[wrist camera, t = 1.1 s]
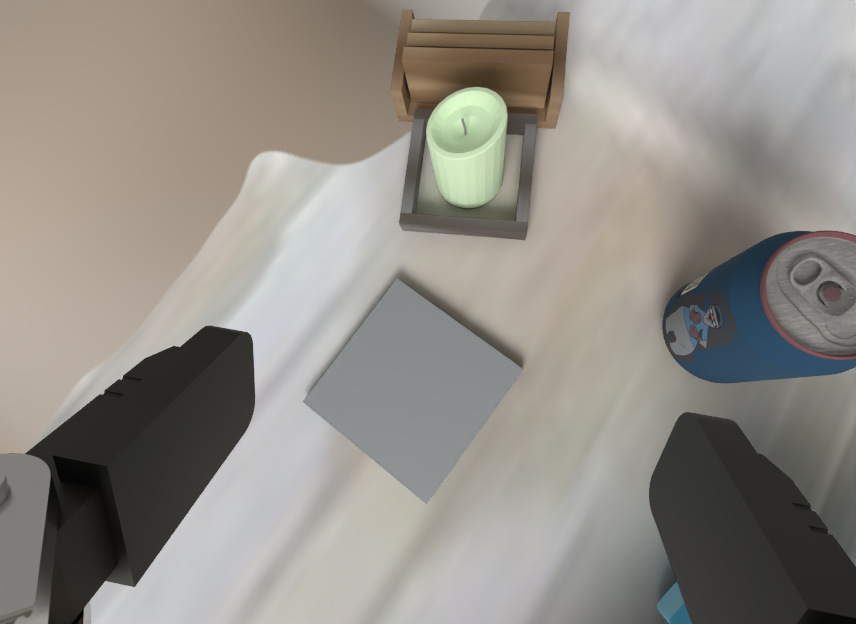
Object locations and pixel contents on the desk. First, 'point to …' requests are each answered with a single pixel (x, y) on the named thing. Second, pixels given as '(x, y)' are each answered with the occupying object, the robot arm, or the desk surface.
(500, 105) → the candle
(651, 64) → the desk surface
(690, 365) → the soda can
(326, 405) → the slate mat
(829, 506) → the desk surface
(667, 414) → the desk surface
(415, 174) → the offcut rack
